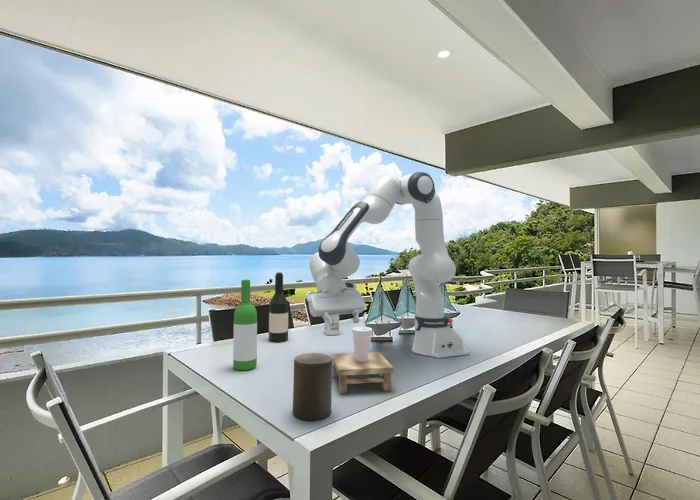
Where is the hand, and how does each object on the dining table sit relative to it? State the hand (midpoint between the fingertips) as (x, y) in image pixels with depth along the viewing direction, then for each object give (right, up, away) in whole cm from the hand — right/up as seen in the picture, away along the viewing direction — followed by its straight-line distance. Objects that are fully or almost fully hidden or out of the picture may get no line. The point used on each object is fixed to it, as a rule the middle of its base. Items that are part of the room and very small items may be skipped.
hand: (344, 323), depth 122 cm
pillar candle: (-8, -17, -29) cm, 34 cm away
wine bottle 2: (-30, -16, +42) cm, 54 cm away
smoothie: (+5, -10, -8) cm, 14 cm away
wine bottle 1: (-34, -16, +5) cm, 38 cm away
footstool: (+5, -17, -8) cm, 19 cm away
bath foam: (-7, -16, +55) cm, 58 cm away
